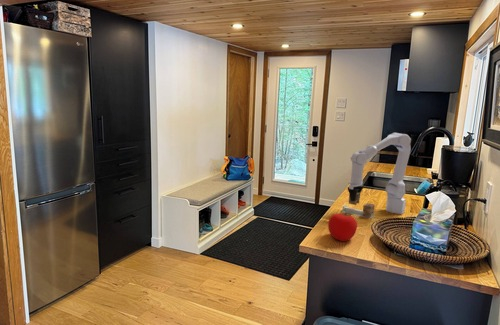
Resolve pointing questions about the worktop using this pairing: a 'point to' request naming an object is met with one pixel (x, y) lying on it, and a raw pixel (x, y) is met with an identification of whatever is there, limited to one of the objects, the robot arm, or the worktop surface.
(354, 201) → the brown notched block
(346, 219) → the red apple
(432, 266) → the worktop surface
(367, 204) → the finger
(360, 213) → the rail
